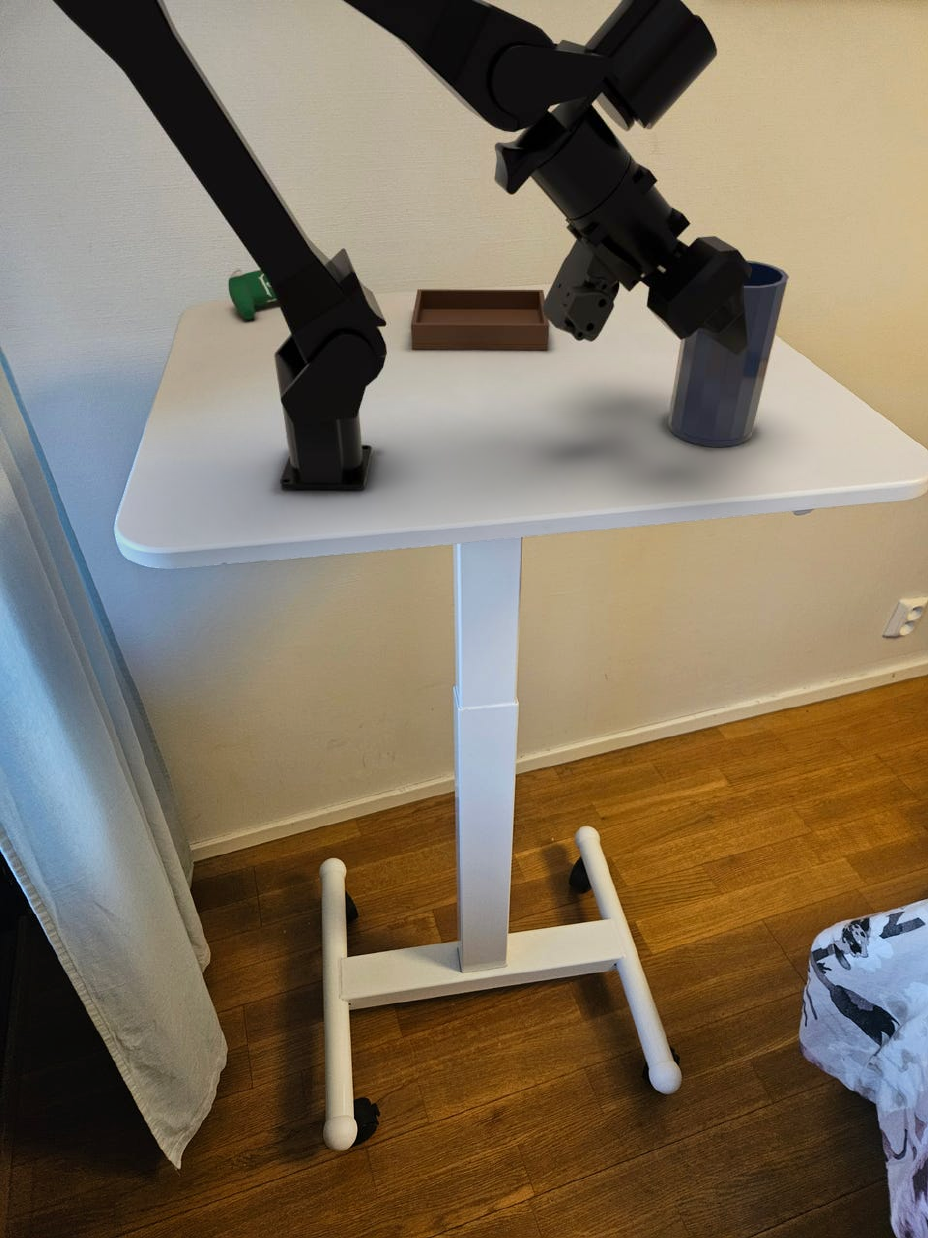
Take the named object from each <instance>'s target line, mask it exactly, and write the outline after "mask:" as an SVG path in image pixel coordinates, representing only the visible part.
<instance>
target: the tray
mask: <svg viewBox="0 0 928 1238" xmlns="http://www.w3.org/2000/svg"><path fill="white" fill-rule="evenodd" d="M545 299H546V297H545V292H544V289H447V288H446V289H443V288H442V289H436V288H435V289H433V288H432V289H431V288H430V289H428V288H420V289H419V288H418V289H417V290H416V296H415V301H414V305H413V306H414V307H413V311H412V317H411V323H410V335H411V336H410V337H411V338H410V339H411V350H446V351H447V350H450V351H451V350H452V351H453V350H457V351H459V350H462V351H463V350H464V351H465V350H470V351H472V350H473V351H548V350H549V349H548V348H549V336H550V335H549V334H550V333H549V332H550V323H549V322H550V321H549V319H548V318H547V317H546V316H545V315H544V313H543V305H544V302H545Z"/></svg>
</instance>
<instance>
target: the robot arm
mask: <svg viewBox="0 0 928 1238" xmlns="http://www.w3.org/2000/svg"><path fill="white" fill-rule="evenodd" d="M52 1H53V3H54V4H55V5H56V6H58V8H59V9H60V10H61V11H62V12H63V13H64V14H65V15H66V17H67V18H68V19H69V20H70V21H71V22H72V23H74V24H75V25H76V26H77V28H79V29H80V30H81V31H82V32H83V34H84V35H86V36H87V37H88V38H89V39H90V40H91V41H92V42H94V44H96V46H97V47H99V48H100V50H102V51H103V52H104V53H105V54H106V55H107V56H108V57H109V59H111V60H112V61H113V62H114V63H115V64H116V65H117V66H118V67H119V69H120V70H122V72H123V73H124V74H125V76H126V77H127V78H128V80H129V82H130V83H131V84H132V86H133V87H134V89H135V91H136V92H137V93H138V95H139V96H140V97H141V99H142V100H143V102H144V103H145V105H146V106H147V107H148V110H150V113H152V115H153V116H154V118H155V119H156V120H157V122H158V123H159V125H160V126H161V128H162V130H163V131H164V132H165V134H166V135H167V136H168V138H169V139H170V141H171V142H172V143H173V145H174V146H175V148H176V150H177V151H178V152H179V154H180V155H181V157H182V158H183V160H184V161H185V162H186V164H187V165H188V167H189V169H191V171H192V173H193V174H194V175H195V177H196V179H197V180H198V181H199V183H200V184H201V185H202V187H203V188H204V190H205V192H206V193H207V194H208V196H209V198H210V199H211V200H212V201H213V203H214V205H215V206H216V207H217V209H218V211H220V213H221V215H222V216H223V218H224V219H225V221H226V222H227V223H228V225H229V226H230V228H231V229H232V231H233V232H234V234H235V235H236V236H237V238H238V239H239V240H240V242H241V243H242V245H243V247H244V248H245V249H246V251H247V252H248V253H249V255H250V257H251V258H252V260H253V261H254V262H255V264H256V265H257V267H258V268H259V270H261V271H262V272H263V274H264V275H265V277H266V278H267V280H268V281H269V283H270V286H271V288H272V290H273V292H274V295H275V297H276V299H277V302H276V303H277V304H278V306H279V309H280V311H281V314H282V316H283V318H284V320H285V323H286V325H287V328H288V330H289V332H290V335H289V336H288V337H286V339H285V340H284V341H283V343H282V344H281V345H280V346H279V347H278V349H277V350H276V351H275V352H274V356H273V358H274V364H275V371H276V377H277V378H276V379H277V385H278V390H279V398H280V403H281V406H282V407H281V408H282V414H283V420H284V421H283V422H284V429H285V433H286V441H287V448H288V455H289V456H288V458H287V462H286V464H285V467H284V470H283V473H282V475H281V477H280V480H279V484H280V488H282V489H285V490H363V489H364V488H365V487H366V484H367V478H368V473H369V469H370V464H371V460H372V455H373V446H371V445H370V444H363V439H362V428H361V417H360V409H361V405H362V402H363V399H364V395H365V392H366V388H367V387H368V386H369V385H370V384H372V382H374V381H375V380H376V379H377V378H378V377H379V375H380V373H381V372H382V370H383V368H384V366H385V362H386V359H387V358H386V357H387V355H388V349H387V344H386V341H385V340H384V337H383V334H382V332H381V329H380V328H383V327H386V326H387V321H386V319H385V316H384V314H383V312H382V310H381V308H380V305H379V303H378V300H377V298H376V296H375V294H374V292H373V291H372V290H371V289H369V288H368V287H366V286H365V285H364V284H363V282H362V281H361V280H360V278H359V277H358V275H357V273H356V270H355V268H354V266H353V264H352V261H351V259H350V257H349V253H348V251H347V250H346V248H344V247H343V248H341V249H340V250H339V251H338V252H337V253H336V254H335V255H334V256H333V257H332V258H331V259H330V258H329V257H328V256H327V255H326V254H325V253H324V252H323V251H322V250H320V248H319V247H318V246H317V245H316V244H315V243H314V242H312V240H311V239H310V238H309V236H308V235H307V234H306V232H305V230H304V229H303V227H302V226H301V224H300V223H299V221H298V219H297V218H296V217H295V215H294V213H293V211H292V210H291V208H290V207H289V205H288V204H287V202H286V201H285V199H284V198H283V196H282V194H281V193H280V191H279V189H278V188H277V186H276V185H275V183H274V182H273V180H272V178H271V177H270V175H269V174H268V172H267V171H266V169H265V168H264V166H263V164H262V162H261V161H260V159H259V158H258V157H257V155H256V153H255V152H254V150H253V148H252V147H251V145H250V144H249V142H248V141H247V139H246V138H245V136H244V134H243V133H242V131H241V129H240V128H239V127H238V125H237V124H236V122H235V120H234V119H233V117H232V115H231V114H230V112H229V111H228V109H227V107H226V106H225V105H224V103H223V101H222V99H221V98H220V96H219V95H218V93H217V92H216V90H215V88H214V87H213V85H212V84H211V83H210V80H209V79H208V77H207V76H206V75H205V72H203V71H204V70H202V68H201V66H200V65H199V62H197V60H196V58H195V57H194V56H193V54H192V52H191V51H190V49H189V47H188V46H187V44H186V43H185V41H184V39H183V38H182V36H181V35H180V33H179V32H178V30H177V28H176V26H175V23H174V22H173V20H172V19H173V18H172V17H171V15H170V12H169V11H168V8H167V6H166V3H165V1H164V0H52ZM341 1H342V2H343V3H344V4H345V5H347V6H349V7H350V8H352V9H353V10H355V11H356V12H358V13H359V14H361V15H362V16H364V17H365V18H367V20H369V21H371V22H373V23H374V24H375V25H377V26H378V27H380V28H381V29H382V30H384V31H385V32H387V33H388V34H389V35H392V37H395V38H396V39H397V40H398V41H399V42H400V43H401V44H402V45H403V47H405V48H406V49H407V50H408V51H409V52H410V53H411V54H412V55H413V56H414V57H415V58H416V59H417V60H418V61H419V62H420V64H422V65H423V66H424V68H425V69H426V70H427V71H428V72H429V73H430V74H431V75H432V76H433V78H435V79H436V80H437V81H438V82H439V83H440V84H441V85H442V86H443V87H444V88H445V89H446V90H447V91H448V92H449V93H450V94H451V95H453V97H455V99H456V100H458V102H459V103H461V104H462V105H463V106H464V107H465V108H466V109H467V110H468V111H469V112H471V113H472V114H474V115H475V116H477V117H478V118H480V119H481V120H482V121H484V122H485V123H487V124H488V125H490V126H492V127H493V128H494V129H498V130H500V131H502V132H504V133H505V132H506V133H517V132H519V131H522V132H521V133H520V135H518V136H517V137H516V139H515V140H513V141H509V142H501V141H499V142H496V143H495V144H494V152H495V156H496V163H495V168H494V169H495V171H494V176H493V177H494V178H493V179H494V182H495V184H497V185H498V186H499V187H500V188H501V189H503V190H504V191H505V192H506V193H507V194H508V195H515V194H516V193H517V192H518V191H519V190H520V189H521V188H522V187H523V185H524V184H525V183H526V182H527V181H528V180H529V178H531V180H533V182H534V183H535V184H536V185H537V186H538V188H540V190H541V191H542V192H543V193H544V194H545V196H547V198H548V199H549V200H550V201H551V203H553V205H554V206H555V207H556V208H557V209H558V210H559V211H560V212H561V213H562V215H563V216H564V217H565V218H566V219H565V221H566V223H567V225H566V228H565V229H567V230H568V231H569V232H570V234H571V235H572V236H573V237H574V238H575V239H576V240H575V242H574V244H573V245H572V247H571V249H570V250H569V253H568V254H567V255H566V256H565V258H564V260H563V261H562V263H561V265H560V267H559V270H558V272H557V274H556V276H555V278H554V280H553V282H552V284H551V286H550V288H549V291H548V293H547V295H546V297H545V302H544V305H543V313H544V315H545V316H546V317H547V318H548V321H549V322H550V323H551V324H552V326H553V327H554V328H555V329H557V330H560V331H563V332H566V333H567V334H570V335H571V336H572V337H573V338H574V339H575V340H576V341H577V342H581V341H584V340H585V341H587V342H590V343H592V342H594V341H595V340H596V339H597V338H598V337H599V335H601V333H602V331H603V330H604V327H605V325H606V323H607V321H608V320H609V318H610V316H611V314H612V312H613V310H614V308H615V303H614V302H615V300H616V299H617V296H618V294H619V290H620V286H622V287H623V288H624V289H625V290H626V291H627V292H628V293H630V292H631V291H632V290H634V288H635V287H636V286H637V285H638V284H639V283H642V284H644V285H645V286H646V287H648V292H647V300H646V307H647V309H648V310H649V311H650V312H651V313H652V314H653V315H654V317H655V318H656V320H658V321H659V322H660V323H661V324H662V325H663V326H664V327H665V328H666V329H667V330H669V331H670V332H671V333H672V334H673V335H674V336H675V337H676V338H677V339H679V340H680V341H681V340H682V339H685V338H688V337H691V336H692V335H693V334H694V333H695V332H696V331H698V330H701V331H702V332H704V333H705V334H707V335H708V336H710V337H711V338H712V339H714V340H715V341H717V342H718V343H719V344H721V345H722V346H724V347H725V348H726V349H728V350H729V351H731V352H732V353H733V354H735V355H739V354H741V353H742V352H743V351H744V350H745V349H746V348H747V347H748V336H747V326H746V315H745V302H744V283H745V282H746V281H747V280H748V279H749V278H750V275H751V272H752V268H751V267H750V265H749V264H748V263H747V261H746V260H747V259H745V257H744V256H743V254H742V253H741V251H740V250H739V249H738V248H736V247H734V246H733V245H731V244H729V243H727V242H726V241H725V240H722V239H720V238H719V237H718V236H716V235H711V236H698V237H696V238H695V239H694V241H692V242H691V244H689V245H688V244H687V243H685V242H683V241H682V240H680V239H679V237H680V236H681V235H682V234H683V233H684V231H686V229H687V228H688V227H689V226H690V225H691V222H690V221H689V219H688V218H687V217H686V215H685V214H684V213H683V212H681V211H679V210H678V209H676V208H674V207H673V206H671V205H670V204H669V203H668V201H667V200H666V198H665V197H664V196H663V194H661V192H660V191H659V190H658V188H657V186H655V185H656V184H657V182H658V179H657V178H656V176H655V175H654V174H653V172H652V171H651V170H650V169H649V168H648V167H645V166H644V165H642V164H639V163H638V162H637V161H636V160H635V158H634V157H633V156H632V154H631V153H630V152H629V151H628V149H627V148H626V147H625V145H624V144H623V143H622V141H621V140H620V139H619V137H618V136H617V135H616V134H615V133H614V131H613V130H612V128H611V127H610V126H609V125H608V123H607V122H606V121H605V120H604V118H603V117H602V116H601V114H600V113H599V112H598V110H597V109H596V108H595V107H594V105H593V103H594V102H595V101H596V102H597V104H598V105H599V106H600V108H601V109H602V110H603V111H604V112H605V113H606V115H607V116H608V117H609V118H610V119H611V120H612V121H613V122H614V123H615V124H616V125H617V126H618V127H619V128H620V129H622V130H623V131H625V132H629V131H631V130H632V128H633V127H634V126H635V123H637V124H638V125H640V127H641V128H643V129H646V130H652V129H653V128H654V127H655V125H656V124H657V123H658V122H660V120H661V119H662V118H663V117H664V116H665V114H666V113H667V112H668V111H669V110H670V109H671V108H672V106H674V104H676V102H677V101H678V100H679V99H680V98H681V97H682V96H683V94H684V93H686V91H687V90H688V89H689V88H690V87H691V85H693V83H694V82H695V81H696V80H697V79H698V77H699V76H701V74H702V73H703V72H704V71H705V70H706V69H707V68H708V66H710V64H711V63H712V62H713V61H715V59H716V58H717V56H718V48H717V45H716V41H715V40H714V37H713V35H712V33H711V31H710V29H709V28H708V26H707V25H706V22H705V21H704V20H703V18H702V17H701V16H699V15H698V14H694V13H693V11H691V9H690V8H689V7H688V6H687V5H686V4H685V3H684V1H682V0H621V1H620V2H619V3H618V5H617V6H616V7H615V9H614V10H613V11H612V12H611V13H610V15H609V16H608V17H607V18H606V19H605V21H604V22H603V23H602V24H601V26H599V28H598V29H597V30H596V31H595V32H594V34H593V35H592V36H591V37H590V39H589V40H588V41H587V42H586V43H585V44H584V45H583V44H580V43H577V42H573V41H571V40H567V39H561V40H560V41H559V43H557V42H554V41H553V39H551V37H550V36H549V35H548V34H547V33H546V32H545V30H544V29H542V28H541V27H539V26H538V25H536V24H534V23H532V22H530V21H528V20H526V19H523V18H521V17H519V16H518V15H515V14H513V13H511V12H508V11H507V10H504V9H502V8H500V7H498V6H496V5H494V4H491V3H489V2H488V1H484V0H341ZM556 105H557V106H556ZM554 106H556V107H554ZM551 107H554V109H552V110H551V111H549V110H550V108H551Z"/></svg>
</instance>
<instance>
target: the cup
mask: <svg viewBox="0 0 928 1238" xmlns="http://www.w3.org/2000/svg"><path fill="white" fill-rule="evenodd" d="M745 260H746V261H747V263H748V264H749V265H750V267H751V268H752V272H751V275H750V278H749V279H748V280H747V281H746V282H745V283H744V302H745V315H746V326H747V336H748V347H747V348H746V349H745V350H744V351H743V352H742V353H741V354H739V355H735V354H733V353H732V352H731V351H729V350H728V349H726V348H725V347H724V346H722V345H721V344H719V343H718V342H717V341H715V340H714V339H712V338H711V337H710V336H708V335H707V334H705V333H704V332H702V331H701V330H698V331H696V332H695V333H694V334H693V335H692V336H691V337H688V338H685V339H682V340H680V344H679V350H678V356H677V362H676V363H677V364H676V369H675V375H674V380H673V387H672V388H673V389H672V393H671V398H670V399H671V400H670V405H669V412H668V423H667V425H668V429H669V431H670V432H671V433H672V434H673V435H674V436H675V437H677V438H679V439H681V440H683V441H685V442H688V443H690V444H694V445H697V446H703V447H709V448H710V447H711V448H727V447H735V446H738V445H742V444H744V443H746V442H747V441H748V440H749V439H751V437H752V435H753V431H754V428H755V424H756V420H757V416H758V412H759V408H760V405H761V398H762V395H763V390H764V387H765V381H766V377H767V373H768V368H769V364H770V360H771V356H772V353H773V352H772V351H773V348H774V343H775V338H776V334H777V329H778V326H779V322H780V317H781V313H782V308H783V304H784V299H785V296H786V292H787V286H788V283H789V278H790V277H789V275H788V273H787V272H786V271H785V270H784V269H781V268H779V267H777V266H775V265H772V264H769V263H765V262H761V261H756V260H747V259H745Z"/></svg>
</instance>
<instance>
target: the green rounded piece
mask: <svg viewBox="0 0 928 1238" xmlns="http://www.w3.org/2000/svg"><path fill="white" fill-rule="evenodd" d="M227 281H228V294H229V297H230V299H231V302H232V303H233V306H234V307H235V309H236V310H237V312H238V313H239V314H240V315H241V316H242V317H243V318H244V319H245V320H248V321H250V320H252V319H255V315H256V314H255V313H256V310H255V308H259V307H261V306H262V305H263V304H268V303H273V302H276V303H278V302H277V299H276V297H275V295H274V292H273V290H272V288H271V286H270V283H269V281H268V280H267V278H266V277H265V275H264V274H263V272H262V271H261V269H259V270H254V271H249V272H246V273H243V272H242V269H241V268H235V269H234V271H232V273H231V275H230V276H229V278H228V280H227Z"/></svg>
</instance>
